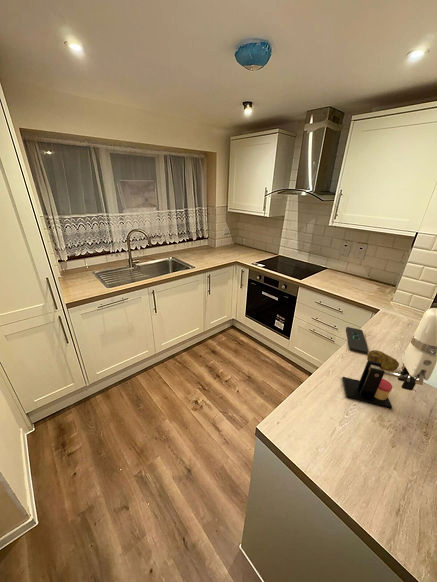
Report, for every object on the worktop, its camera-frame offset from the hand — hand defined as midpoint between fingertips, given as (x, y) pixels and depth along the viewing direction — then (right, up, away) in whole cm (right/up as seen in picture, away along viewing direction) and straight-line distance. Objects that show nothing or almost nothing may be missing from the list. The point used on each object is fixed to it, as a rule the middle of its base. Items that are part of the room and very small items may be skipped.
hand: (404, 384), depth 85 cm
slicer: (-10, -6, +6) cm, 14 cm away
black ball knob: (-5, +2, +1) cm, 5 cm away
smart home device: (+4, +8, +37) cm, 38 cm away
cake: (-6, -6, +5) cm, 10 cm away
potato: (+5, 0, +19) cm, 20 cm away
